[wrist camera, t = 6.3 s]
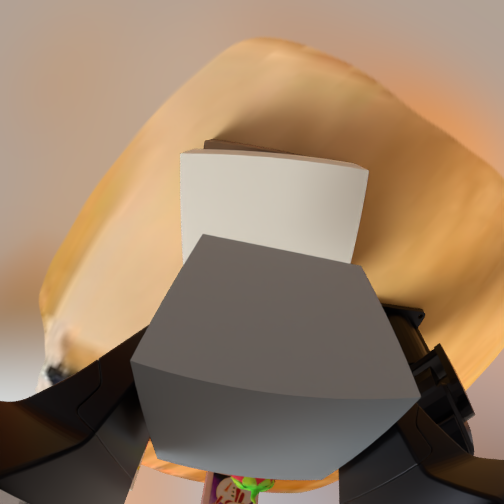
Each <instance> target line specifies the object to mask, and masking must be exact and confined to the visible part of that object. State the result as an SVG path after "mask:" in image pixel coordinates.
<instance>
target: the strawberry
mask: <svg viewBox="0 0 504 504" xmlns="http://www.w3.org/2000/svg"><path fill="white" fill-rule="evenodd" d="M230 478H231V479H232V480H233V481H234V482H233V483H234V484H235V485H236V486H237V487H239V488H240V489H244V490H248V491H251V501H252V502H253V503H256V500H255V497H256V496H257V494H258V493H259V492H263V491H267V490H268V489H270V488H272V487H273V485H274V482H275V480H276V479H264V478H253V477H244V476H236V475H231V477H230Z"/></svg>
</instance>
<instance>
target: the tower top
mask: <svg viewBox="0 0 504 504" xmlns="http://www.w3.org/2000/svg"><path fill="white" fill-rule="evenodd" d="M368 174H369V170H367V169H365V168H363V167H361V166H359V165H357V164H355V163H350V162H343V161H337V160H330V159H323V158H316V157H308V156H300V155H291V154H281V153H270V152H257V151H242V150H221V149H193V150H189V151H186V152H183V153H180V200H181V233H182V253H183V265H184V264H185V262H186V260H187V259H188V257H189V255H190V254H191V252H192V250H193V249H194V247H195V245H196V244H197V242H198V241H199V239H200V237H201V236H202V234H207V235H212V236H217V237H222V238H227V239H232V240H237V241H242V242H247V243H252V244H257V245H262V246H267V247H272V248H277V249H281V250H286V251H291V252H296V253H301V254H306V255H311V256H316V257H320V258H325V259H330V260H335V261H340V262H344V263H349V264H350V263H351V259H352V255H353V251H354V246H355V242H356V238H357V233H358V228H359V224H360V219H361V214H362V209H363V203H364V198H365V192H366V187H367V181H368Z"/></svg>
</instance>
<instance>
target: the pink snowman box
mask: <svg viewBox="0 0 504 504" xmlns="http://www.w3.org/2000/svg"><path fill="white" fill-rule="evenodd" d="M230 477H231V475H229V474H222V473H216V472H211V471H208V472H207V473H206V478H205V484H204V489H203V495H202V500H201V504H258V494H259V493H258V494H257V496H256V497H255V500H256V503H253V502H252V501H251V491H248V490H244V489H240V488H239V487H237V486H236V485H235V484H234V483H233V482H234V481H233V480H232V479H231V478H230Z"/></svg>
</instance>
